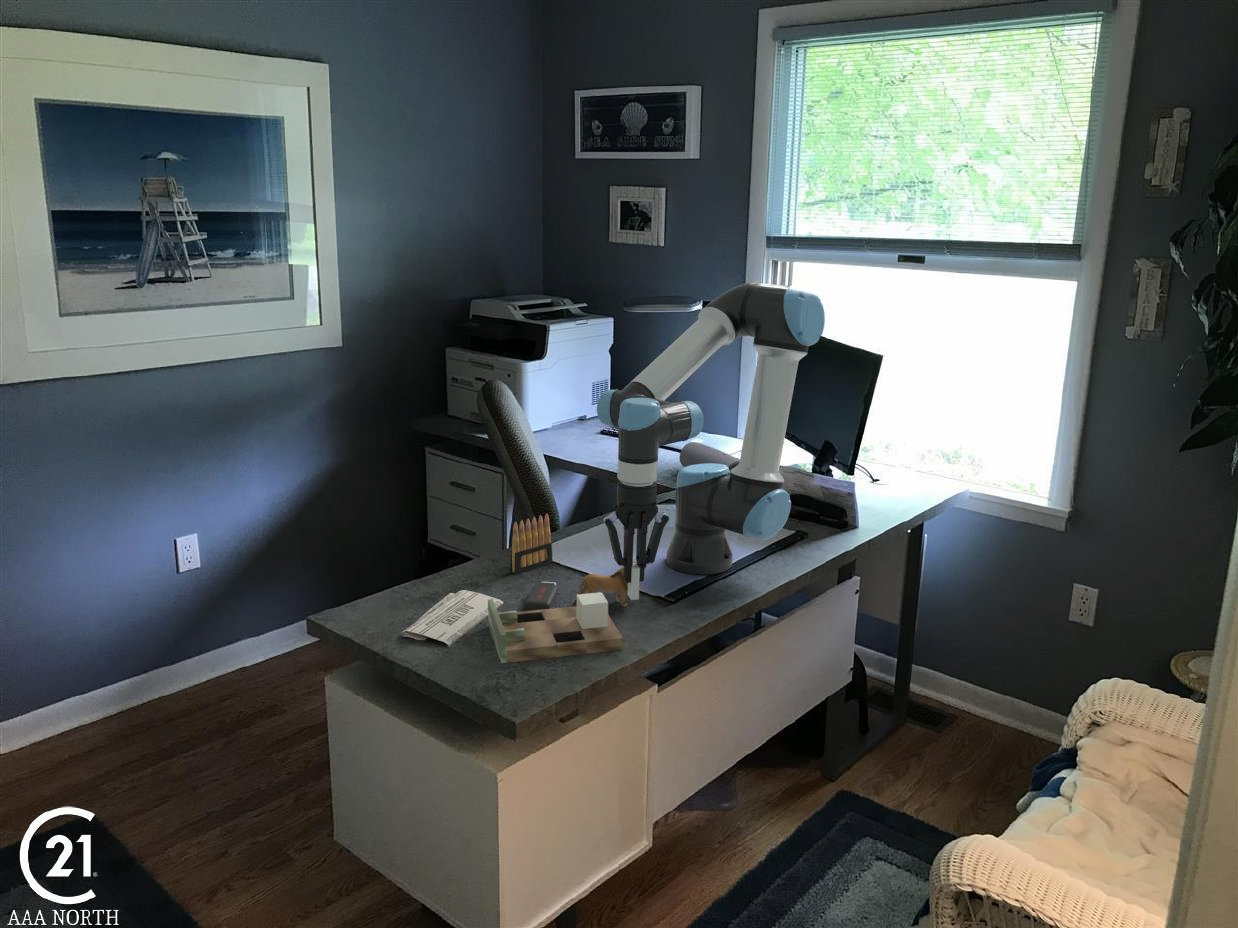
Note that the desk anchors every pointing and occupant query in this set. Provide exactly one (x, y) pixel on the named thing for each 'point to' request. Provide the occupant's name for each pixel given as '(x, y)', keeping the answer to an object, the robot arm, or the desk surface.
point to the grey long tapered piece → (705, 456)
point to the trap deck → (547, 634)
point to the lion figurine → (606, 585)
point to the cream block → (592, 610)
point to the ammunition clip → (531, 546)
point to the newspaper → (451, 617)
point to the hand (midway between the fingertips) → (633, 596)
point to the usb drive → (541, 596)
